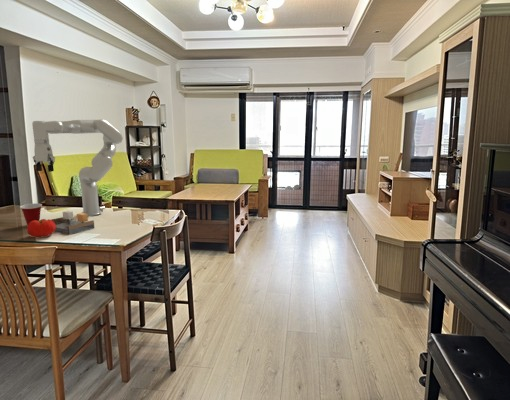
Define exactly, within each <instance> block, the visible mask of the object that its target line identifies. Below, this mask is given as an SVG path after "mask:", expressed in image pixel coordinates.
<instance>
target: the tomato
mask: <svg viewBox="0 0 510 400" xmlns="http://www.w3.org/2000/svg"><path fill="white" fill-rule="evenodd" d="M55 230H56V225H55V223H54V222H53V221H52V220H51V219H46V218H40V220H39V221H37V220H33V221H31V222H30V223H29V224H28V225H26V231H27V234H28V235H29V236H31V237H34V238H37V239H38V238H45V237H49V236H50V235H52V234H53V233H55Z"/></svg>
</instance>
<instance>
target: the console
mask: <svg viewBox="0 0 510 400" xmlns="http://www.w3.org/2000/svg"><path fill="white" fill-rule="evenodd" d="M50 220H52V221H53V222H54V223H55V225H56V230H55V231H54V233H55V232H56V233H60V234H64V235H65V234H66V235H72V234H73V235H74V234H77V233H81V232H84V231H88V230H92V229H95V220H88V221H85V222H83V223H81V222H80V221H77V220H73V219H70V221H67V219H63V216H62V217H56V218H52V219H50Z"/></svg>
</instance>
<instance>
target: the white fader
mask: <svg viewBox="0 0 510 400" xmlns="http://www.w3.org/2000/svg"><path fill="white" fill-rule="evenodd" d="M62 217H63V219H67V221H70V220H73V219H74V212H73V211H71V210H65V211H62Z"/></svg>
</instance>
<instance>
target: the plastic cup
mask: <svg viewBox="0 0 510 400" xmlns="http://www.w3.org/2000/svg"><path fill="white" fill-rule="evenodd" d="M42 207H43V204H42V203H26V204H23V205H20V206H19V208H20V209H21V211H22V214H23V217H24V220H25V223H26V226H28V224H29V223H30V222H31V221H33V220H37V221H39V220H41V210H42Z"/></svg>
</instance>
